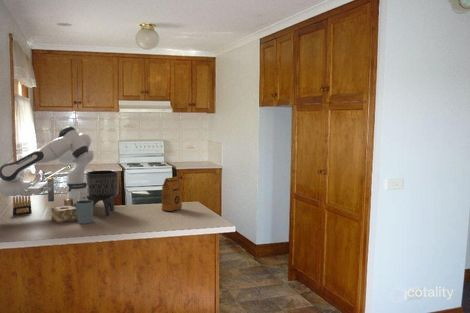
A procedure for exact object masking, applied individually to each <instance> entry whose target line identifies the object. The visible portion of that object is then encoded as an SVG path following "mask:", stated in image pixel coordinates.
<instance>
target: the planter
mask: <svg viewBox="0 0 470 313" xmlns="http://www.w3.org/2000/svg"><path fill="white" fill-rule="evenodd" d="M85 175H86V183H87V191H88V200H92V201H93V210H94V208H95V206H96V204H97V203H98V202H100V201H101V202H102V203H103V206H104V214H105V215H104V216H106V217H109V216H110V212H114V211H115V197H117V195H118V194H119V176H120V175H119V171H117V170H111V169H109V170H93V171H87V172H86V174H85Z"/></svg>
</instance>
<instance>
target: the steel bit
mask: <svg viewBox="0 0 470 313" xmlns="http://www.w3.org/2000/svg"><path fill="white" fill-rule="evenodd" d="M46 180H47V181H46V182H47V183H48V187H51V188H52V189H51V190H48V191H47V202H48V203H49V202H54V201H55V186H54V185H55V184H54V182H55V180H54V177H48V178H46Z"/></svg>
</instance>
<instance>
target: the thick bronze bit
mask: <svg viewBox="0 0 470 313" xmlns="http://www.w3.org/2000/svg"><path fill="white" fill-rule="evenodd" d="M63 206H72V207H75V204H74V201H73V199H71V198H69V199H67V198H65V199H63Z"/></svg>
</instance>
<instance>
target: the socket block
mask: <svg viewBox="0 0 470 313" xmlns="http://www.w3.org/2000/svg"><path fill="white" fill-rule="evenodd" d="M50 209H51V220H52V221H54V222H56V223H58V224H61V223H66V222H73V221H77V212H76V206H74V207H72V206H64V205H63V206H57V207H51V208H50Z"/></svg>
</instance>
